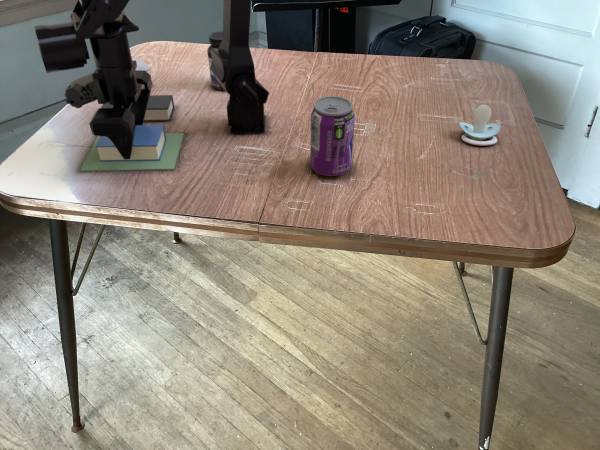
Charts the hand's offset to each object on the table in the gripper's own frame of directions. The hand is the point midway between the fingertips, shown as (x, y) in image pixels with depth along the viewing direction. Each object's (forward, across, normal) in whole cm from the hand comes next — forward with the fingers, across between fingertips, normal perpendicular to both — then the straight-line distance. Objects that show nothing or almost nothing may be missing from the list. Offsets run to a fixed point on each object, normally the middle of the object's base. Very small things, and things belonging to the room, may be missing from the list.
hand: (133, 144), depth 97 cm
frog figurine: (+2, -26, -5) cm, 27 cm away
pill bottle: (+2, -27, +14) cm, 30 cm away
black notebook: (+2, -14, -2) cm, 14 cm away
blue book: (+1, 0, 0) cm, 1 cm away
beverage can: (+2, +6, +35) cm, 36 cm away
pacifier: (+2, -3, +63) cm, 63 cm away
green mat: (+2, 0, 0) cm, 2 cm away
